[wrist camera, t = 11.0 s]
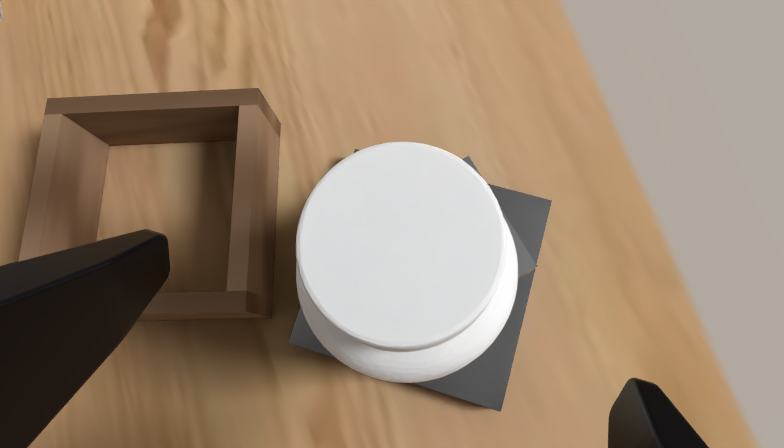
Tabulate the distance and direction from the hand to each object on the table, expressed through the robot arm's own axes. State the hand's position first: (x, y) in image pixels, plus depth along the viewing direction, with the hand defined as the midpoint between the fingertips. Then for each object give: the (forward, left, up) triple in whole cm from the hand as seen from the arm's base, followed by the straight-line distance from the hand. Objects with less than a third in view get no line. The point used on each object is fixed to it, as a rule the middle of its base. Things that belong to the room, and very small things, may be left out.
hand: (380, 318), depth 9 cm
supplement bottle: (+1, +1, -9) cm, 10 cm away
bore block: (-8, +7, -10) cm, 15 cm away
